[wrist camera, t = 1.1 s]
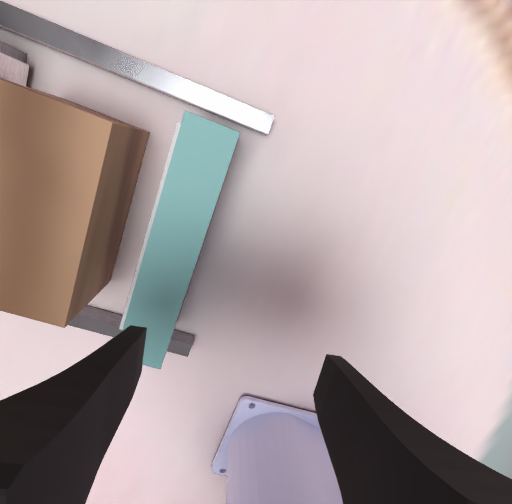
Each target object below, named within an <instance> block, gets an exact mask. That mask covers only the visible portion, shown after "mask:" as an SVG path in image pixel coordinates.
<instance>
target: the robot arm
mask: <svg viewBox="0 0 512 504" xmlns="http://www.w3.org/2000/svg"><path fill="white" fill-rule="evenodd" d="M146 332H147V328H146V327H139V326H133V325H130V326H129V327H127V328H126V329H124V330H123V331H122V332H120V333H119V334H118V335H117V336H115V337H114V338H112V339H111V340H110V341H108V342H107V343H106V344H104V345H103V346H101V347H100V348H99V349H97V350H96V351H94V352H93V353H91V354H90V355H88V356H87V357H85V358H84V359H82V360H80V361H79V362H77V363H76V364H74V365H72V366H71V367H69V368H68V369H66V370H64V371H62V372H61V373H59V374H57V375H55V376H53V377H51V378H49V379H47V380H45V381H43V382H41V383H39V384H37V385H35V386H33V387H30V388H28V389H26V390H24V391H21V392H19V393H17V394H14V395H12V396H10V397H8V398H5V399H3V400H0V504H85V503H86V500H87V497H88V495H89V492H90V489H91V487H92V484H93V482H94V479H95V476H96V474H97V471H98V469H99V467H100V464H101V462H102V460H103V458H104V455H105V453H106V451H107V449H108V447H109V445H110V443H111V441H112V439H113V437H114V435H115V433H116V431H117V429H118V427H119V425H120V423H121V420H122V418H123V416H124V414H125V412H126V410H127V408H128V406H129V404H130V402H131V400H132V398H133V395H134V392H135V389H136V386H137V383H138V380H139V378H140V375H141V371H142V363H143V355H144V348H145V340H146ZM313 396H314V402H315V408H316V413H313V412H309V411H305V410H301V409H297V408H293V407H289V406H285V405H281V404H277V403H273V402H269V401H265V400H261V399H257V398H253V397H249V396H243V397H241V398H240V400H239V402H238V404H237V407H236V409H235V411H234V414H233V416H232V418H231V421H230V423H229V425H228V428H227V430H226V432H225V434H224V437H223V439H222V441H221V444H220V446H219V448H218V451H217V453H216V455H215V458H214V460H213V462H212V464H211V471H212V472H213V473H215V474H220V475H225V476H227V491H226V504H512V479H510V478H508V477H506V476H504V475H502V474H500V473H498V472H496V471H495V470H493V469H491V468H489V467H487V466H486V465H484V464H482V463H480V462H478V461H477V460H475V459H473V458H471V457H470V456H468V455H466V454H465V453H463V452H461V451H460V450H458V449H457V448H455V447H453V446H452V445H450V444H449V443H447V442H446V441H444V440H442V439H441V438H439V437H438V436H436V435H435V434H433V433H432V432H431V431H429V430H428V429H426V428H425V427H424V426H422V425H421V424H419V423H418V422H417V421H415V420H414V419H413V418H411V417H410V416H409V415H407V414H406V413H405V412H404V411H402V410H401V409H400V408H399V407H398V406H396V405H395V404H394V403H393V402H392V401H390V400H389V399H388V398H387V397H386V396H385V395H383V394H382V393H381V392H380V391H379V390H378V389H377V388H376V387H374V386H373V385H372V384H371V383H370V382H369V381H368V380H367V379H366V378H365V377H364V376H362V375H361V374H360V373H359V372H358V371H357V370H356V369H355V368H354V367H353V366H352V365H350V364H349V363H348V362H347V361H346V360H345V359H343V358H342V357H341V356H335V355H328V354H326V357H325V361H324V364H323V367H322V370H321V373H320V376H319V379H318V382H317V385H316V388H315V391H314V394H313ZM251 403H253V405H250V404H251Z"/></svg>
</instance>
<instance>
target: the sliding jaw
mask: <svg viewBox="0 0 512 504" xmlns="http://www.w3.org/2000/svg"><path fill="white" fill-rule="evenodd" d="M239 134H240V132H238V131H235V130H233V129H230V128H228V127H225V126H223V125H220V124H218V123H215V122H213V121H210V120H208V119H205V118H203V117H200V116H198V115H195V114H193V113H190V112H188V111H185V112H184V115H183V119H182V122H181V123H179V122H177V125H176V128H175V132H174V136H173V139H172V143H171V146H170V150H169V153H168V157H167V160H166V164H165V168H164V171H163V175H162V178H161V182H160V185H159V189H158V192H157V196H156V199H155V203H154V207H153V210H152V214H151V217H150V221H149V224H148V228H147V231H146V235H145V239H144V242H143V246H142V249H141V253H140V256H139V260H138V263H137V267H136V270H135V274H134V278H133V281H132V285H131V288H130V292H129V295H128V299H127V302H126V306H125V310H124V313H123V317H122V320H121V324H120V327H119V329H121V330H122V331H123V330H124V329H126V328H127V327H129V326H130V325H133V326H139V327H146V328H147V332H146V340H145V348H144V355H143V363H142V365H146V366H150V367H154V368H158V369H161V366H162V363H163V360H164V357H165V354H166V351H167V348H168V345H169V342H170V339H171V336H172V334H173V331H174V328H175V325H176V322H177V319H178V316H179V313H180V310H181V307H182V304H183V301H184V298H185V295H186V292H187V289H188V286H189V283H190V280H191V277H192V274H193V271H194V268H195V265H196V262H197V259H198V256H199V253H200V250H201V248H202V245H203V242H204V239H205V236H206V233H207V230H208V227H209V224H210V221H211V218H212V215H213V212H214V209H215V206H216V203H217V200H218V197H219V194H220V191H221V188H222V185H223V182H224V179H225V176H226V173H227V170H228V167H229V164H230V161H231V158H232V155H233V153H234V150H235V147H236V144H237V141H238V138H239Z"/></svg>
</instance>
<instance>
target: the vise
mask: <svg viewBox="0 0 512 504" xmlns="http://www.w3.org/2000/svg"><path fill="white" fill-rule="evenodd" d="M0 27H1V28H4V29H6V30H9V31H11V32H14V33H16V34H19V35H21V36H23V37H26V38H28V39H31V40H33V41H36V42H38V43H41V44H43V45H46V46H48V47H50V48H53V49H55V50H58V51H60V52H63V53H65V54H68V55H70V56H73V57H75V58H77V59H80V60H82V61H85V62H87V63H90V64H92V65H95V66H97V67H100V68H102V69H104V70H107V71H109V72H112V73H114V74H117V75H119V76H122V77H124V78H126V79H129V80H131V81H134V82H136V83H139V84H141V85H144V86H146V87H149V88H151V89H153V90H156V91H158V92H161V93H163V94H166V95H168V96H171V97H173V98H176V99H178V100H180V101H183V102H185V103H188V104H190V105H193V106H195V107H198V108H200V109H203V110H205V111H207V112H210V113H212V114H215V115H217V116H220V117H222V118H225V119H227V120H230V121H232V122H234V123H237V124H239V125H242V126H244V127H247V128H249V129H252V130H254V131H257V132H259V133H261V134H264V135H267V134H268V133H269V130H270V127H271V125H272V122H273V119H274V116H273V115H271V114H268V113H266V112H263V111H261V110H259V109H256V108H254V107H252V106H249V105H247V104H244V103H242V102H240V101H237V100H235V99H233V98H230V97H228V96H225V95H223V94H221V93H218V92H216V91H214V90H211V89H209V88H206V87H204V86H202V85H199V84H197V83H195V82H192V81H190V80H187V79H185V78H183V77H180V76H178V75H176V74H173V73H171V72H168V71H166V70H164V69H161V68H159V67H157V66H154V65H152V64H149V63H147V62H145V61H142V60H140V59H138V58H135V57H133V56H130V55H128V54H126V53H123V52H121V51H119V50H116V49H114V48H111V47H109V46H107V45H104V44H102V43H100V42H97V41H95V40H92V39H90V38H88V37H85V36H83V35H81V34H78V33H76V32H73V31H71V30H69V29H66V28H64V27H62V26H59V25H57V24H54V23H52V22H50V21H47V20H45V19H43V18H40V17H38V16H35V15H33V14H31V13H28V12H26V11H24V10H21V9H19V8H16V7H14V6H12V5H9V4H7V3H4V2H2V1H0ZM26 55H27V54H26V53H24V52H22V51H20V50H18V49H16V48H14V47H12V46H10V45H7V44H5V43H3V42H1V41H0V78H2V79H5V80H8V81H11V82H14V83H17V84H20V85H23V86H26V83H27V77H28V70H29V65H28V64H26V63H25V62H26ZM122 317H123V315H120V314H116V313H113V312H109V311H106V310H102V309H98V308H95V307H91V306H88V305H86V306H85V307H84V308H83V309H82V310H81V311H80V312H79V313H78V314H77V315H76V316H75V317H74V318H73V319H72V320H71V321H70V323H69V324H68V325H70V326H74V327H78V328H81V329H85V330H89V331H93V332H97V333H100V334H104V335H108V336H112V337H115V336H117V335H118V334H119V333H120V332H122V330H121V329H119V327H120V324H121V320H122ZM193 338H194V335H192V334H188V333H185V332H181V331H177V330H174V331H173V334H172V336H171V339H170V342H169V345H168V348H167V351H168V352H172V353H176V354H179V355H183V356H187V357H188V355H189V352H190V349H191V346H192V343H193Z"/></svg>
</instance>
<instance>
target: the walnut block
mask: <svg viewBox="0 0 512 504" xmlns="http://www.w3.org/2000/svg"><path fill="white" fill-rule="evenodd" d="M149 133H150V132H147V131H145V130H142V129H140V128H137V127H135V126H132V125H129V124H127V123H124V122H122V121H119V120H117V119H114V118H111V117H109V116H106V115H104V114H101V113H99V112H96V111H93V110H91V109H88V108H86V107H83V106H81V105H78V104H75V103H73V102H70V101H68V100H65V99H63V98H60V97H57V96H54V95H51V94H48V93H45V92H42V91H39V90H35V89H32V88H29V87H26V86H23V85H20V84H17V83H14V82H11V81H8V80H5V79H2V78H0V311H4V312H8V313H11V314H15V315H19V316H23V317H26V318H30V319H34V320H37V321H41V322H45V323H49V324H52V325H56V326H60V327H63V328H65V327H66V326H67V325H68V324H69V323H70V321H71V320H72V319H73V318H74V317H75V316H76V315H77V314H78V313H79V312H80V311H81V310H82V309H83V308H84V307H85V306H86V305H87V304H88V303H89V302H90V301H91V300H92V299H93V298H94V297H95V296H96V295H97V294H98V293H99V292H100V291H101V290H102V289H103V288H104V287H105V286H106V285H107V284H108V283H109V282H110V279H111V275H112V272H113V268H114V264H115V260H116V257H117V253H118V249H119V245H120V242H121V238H122V234H123V230H124V227H125V223H126V219H127V216H128V212H129V208H130V204H131V201H132V197H133V193H134V189H135V186H136V182H137V178H138V174H139V171H140V167H141V163H142V159H143V156H144V152H145V148H146V144H147V141H148V137H149Z"/></svg>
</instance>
